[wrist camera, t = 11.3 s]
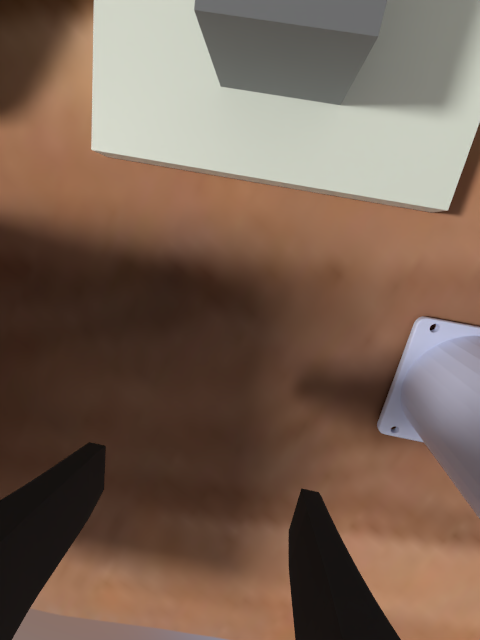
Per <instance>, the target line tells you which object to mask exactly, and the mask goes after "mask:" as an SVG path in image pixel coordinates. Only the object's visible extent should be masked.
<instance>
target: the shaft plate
mask: <svg viewBox="0 0 480 640" xmlns="http://www.w3.org/2000/svg"><path fill="white" fill-rule="evenodd" d="M194 6H195V0H94V25H93V88H92V150H93V151H95V152H97V153H100V154H102V155H104V156H106V157H111V158H117V159H123V160H128V161H134V162H140V163H146V164H152V165H158V166H163V167H169V168H175V169H181V170H187V171H193V172H198V173H204V174H210V175H216V176H222V177H228V178H233V179H239V180H245V181H251V182H257V183H263V184H268V185H274V186H280V187H286V188H292V189H298V190H303V191H309V192H315V193H321V194H327V195H333V196H338V197H344V198H350V199H356V200H362V201H368V202H373V203H379V204H385V205H391V206H397V207H403V208H408V209H414V210H420V211H426V212H440V211H448V209H449V206H450V203H451V201H452V198H453V195H454V192H455V189H456V187H457V184H458V181H459V178H460V176H461V173H462V170H463V167H464V164H465V162H466V159H467V156H468V153H469V151H470V148H471V145H472V142H473V139H474V137H475V134H476V131H477V128H478V126H479V123H480V0H387V4H386V8H385V12H384V16H383V20H382V24H381V28H380V32H379V36H378V38H377V40H376V42H375V43H374V45H373V47H372V49H371V51H370V53H369V54H368V56H367V58H366V60H365V62H364V63H363V65H362V67H361V69H360V71H359V72H358V74H357V76H356V78H355V80H354V82H353V83H352V85H351V87H350V89H349V91H348V92H347V94H346V96H345V98H344V100H343V102H342V103H341V105H335V104H329V103H323V102H316V101H310V100H303V99H297V98H291V97H284V96H278V95H271V94H265V93H259V92H252V91H246V90H239V89H233V88H226V87H221V86H220V83H219V80H218V77H217V75H216V72H215V69H214V66H213V63H212V60H211V57H210V54H209V52H208V49H207V46H206V43H205V40H204V37H203V34H202V31H201V28H200V26H199V23H198V20H197V17H196V14H195V11H194Z"/></svg>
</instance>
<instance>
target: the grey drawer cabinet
mask: <svg viewBox="0 0 480 640" xmlns="http://www.w3.org/2000/svg"><path fill="white" fill-rule="evenodd" d="M386 4H387V0H195V6H194V11H195V14H196V17H197V20H198V23H199V26H200V28H201V31H202V34H203V37H204V40H205V43H206V46H207V49H208V52H209V54H210V57H211V60H212V63H213V66H214V69H215V72H216V75H217V77H218V80H219V83H220V86H221V87H226V88H233V89H239V90H246V91H252V92H259V93H265V94H271V95H278V96H284V97H291V98H297V99H303V100H310V101H316V102H323V103H329V104H335V105H341V103H342V102H343V100H344V98H345V96H346V94H347V92H348V91H349V89H350V87H351V85H352V83H353V82H354V80H355V78H356V76H357V74H358V72H359V71H360V69H361V67H362V65H363V63H364V62H365V60H366V58H367V56H368V54H369V53H370V51H371V49H372V47H373V45H374V43H375V42H376V40H377V38H378V36H379V32H380V28H381V24H382V20H383V16H384V12H385V8H386Z"/></svg>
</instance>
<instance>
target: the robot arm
mask: <svg viewBox="0 0 480 640" xmlns="http://www.w3.org/2000/svg"><path fill="white" fill-rule="evenodd" d="M433 324H436V327H435V329H433V330H430V326H431V325H433ZM394 426H396V428H395V429H391V428H392V427H394ZM377 427H378V429H379V431H380V432H381V433H383V434H386V435H391V436H395V437H400V438H405V439H410V440H415V441H420V442H424V443H425V444H426V446H427V447H428V448H429V450H430V451H431V453H432V454H433V455H434V457H435V458H436V459H437V461H438V462H439V464H440V465H441V466H442V468H443V469H444V470H445V472H446V473H447V475H448V476H449V477H450V479H451V480H452V481H453V483H454V484H455V486H456V487H457V488H458V490H459V491H460V492H461V494H462V495H463V497H464V498H465V499H466V501H467V502H468V503H469V505H470V506H471V508H472V509H473V510H474V512H475V513H476V515H477V516H478V517H479V519H480V327H479V326H473V325H468V324H463V323H457V322H452V321H447V320H441V319H436V318H431V317H420V318H418V319H417V320H416V321H415V322H414V325H413V328H412V330H411V333H410V336H409V338H408V341H407V344H406V347H405V349H404V352H403V355H402V358H401V360H400V363H399V366H398V368H397V371H396V374H395V377H394V379H393V382H392V385H391V387H390V390H389V393H388V396H387V398H386V401H385V404H384V407H383V409H382V412H381V415H380V417H379V420H378V423H377ZM105 448H106V446H104V445H99V444H95V443H90V442H89V443H88V444H86V445H85V446H83V447H82V448H80V449H79V450H77V451H76V452H74V453H73V454H71V455H70V456H68V457H67V458H66V459H64V460H63V461H61V462H60V463H58V464H57V465H55V466H54V467H52V468H51V469H49V470H48V471H46V472H45V473H43V474H42V475H40V476H38V477H37V478H35V479H34V480H32V481H31V482H29V483H28V484H26V485H25V486H23V487H21V488H20V489H18V490H17V491H15V492H13V493H12V494H10V495H8V496H7V497H5V498H3V499H2V500H0V640H12V638H13V636H14V635H15V633H16V631H17V629H18V628H19V626H20V624H21V622H22V621H23V619H24V617H25V615H26V613H27V612H28V610H29V609H30V607H31V605H32V604H33V602H34V601H35V599H36V597H37V596H38V594H39V593H40V591H41V590H42V588H43V587H44V585H45V584H46V582H47V581H48V579H49V578H50V576H51V575H52V573H53V572H54V570H55V569H56V567H57V566H58V564H59V563H60V561H61V560H62V558H63V557H64V555H65V554H66V552H67V551H68V549H69V548H70V546H71V545H72V543H73V542H74V540H75V539H76V537H77V536H78V534H79V533H80V531H81V529H82V528H83V526H84V525H85V523H86V522H87V520H88V519H89V517H90V515H91V513H92V511H93V509H94V507H95V506H96V504H97V502H98V500H99V498H100V496H101V494H102V492H103V490H104V473H105ZM289 574H290V586H291V597H292V607H293V618H294V628H295V639H296V640H401V639H400V638H399V636H398V635H397V633H396V632H395V630H394V629H393V627H392V626H391V624H390V622H389V621H388V619H387V618H386V616H385V615H384V613H383V611H382V610H381V608H380V607H379V605H378V603H377V602H376V600H375V598H374V597H373V595H372V593H371V592H370V590H369V588H368V586H367V585H366V583H365V581H364V580H363V578H362V576H361V574H360V572H359V571H358V569H357V567H356V565H355V563H354V562H353V560H352V558H351V556H350V554H349V552H348V550H347V548H346V546H345V545H344V543H343V541H342V539H341V537H340V535H339V533H338V531H337V529H336V527H335V525H334V523H333V521H332V519H331V516H330V514H329V512H328V510H327V508H326V506H325V504H324V501H323V499H322V497H321V495H320V494H319V492H315V491H310V490H306V489H301V492H300V495H299V499H298V502H297V505H296V509H295V512H294V515H293V519H292V522H291V525H290V529H289Z"/></svg>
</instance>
